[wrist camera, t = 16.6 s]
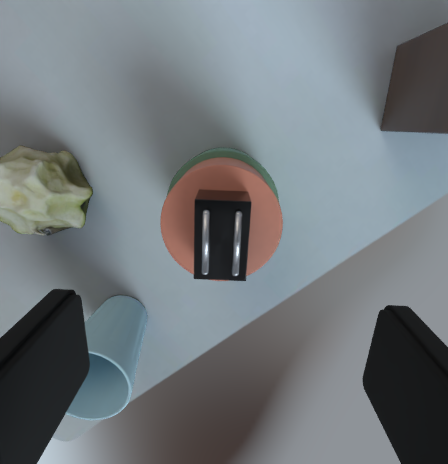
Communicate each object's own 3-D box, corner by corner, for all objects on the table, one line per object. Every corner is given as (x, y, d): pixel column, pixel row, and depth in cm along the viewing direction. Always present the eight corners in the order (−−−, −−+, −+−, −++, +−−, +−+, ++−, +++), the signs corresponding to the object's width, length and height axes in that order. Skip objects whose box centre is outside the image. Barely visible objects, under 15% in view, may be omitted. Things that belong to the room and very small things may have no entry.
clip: (248, 191, 20) (252, 203, 17) (243, 262, 21) (246, 285, 18) (198, 189, 20) (193, 201, 17) (197, 260, 21) (192, 283, 18)
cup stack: (273, 147, 29) (298, 159, 19) (264, 237, 33) (282, 290, 22) (177, 143, 29) (150, 153, 19) (178, 233, 32) (155, 284, 22)
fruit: (0, 179, 32) (-77, 174, 24) (73, 130, 31) (17, 109, 23) (51, 253, 33) (-8, 272, 25) (122, 208, 32) (85, 213, 24)
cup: (169, 306, 35) (146, 376, 26) (139, 352, 38) (108, 432, 28) (108, 274, 34) (60, 335, 24) (82, 324, 36) (27, 398, 27)
